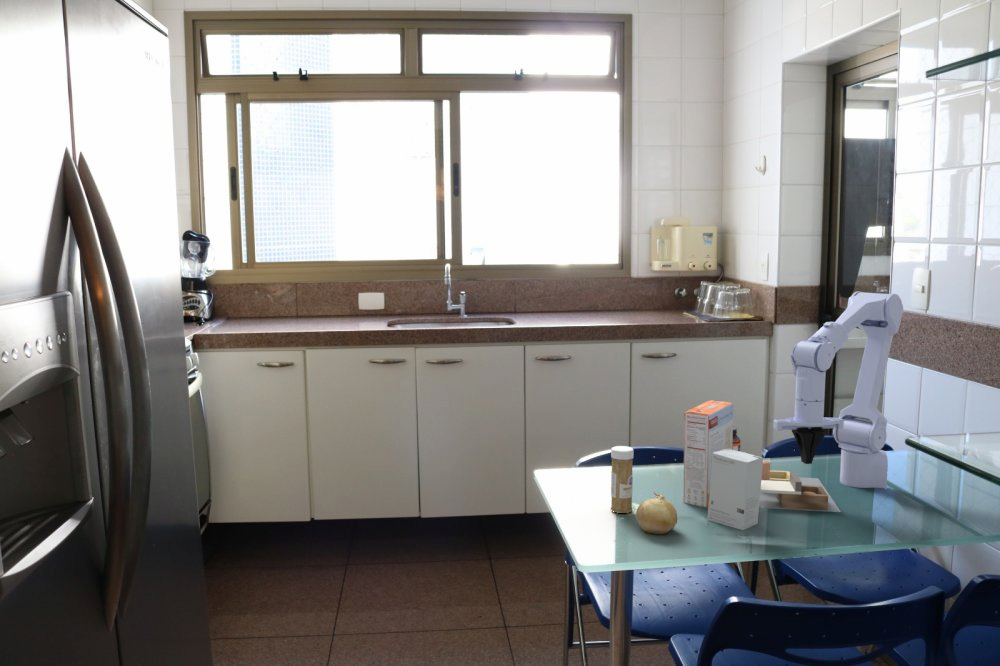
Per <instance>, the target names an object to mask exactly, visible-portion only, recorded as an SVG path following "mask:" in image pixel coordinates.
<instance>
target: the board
mask: <svg viewBox="0 0 1000 666" xmlns="http://www.w3.org/2000/svg"><path fill="white" fill-rule="evenodd" d="M798 477H799V476H798ZM799 479H800V480H801V482H802V485H816V486H822V488H823V489H824V491H825V492H826V494H827V495H828V510H808V509H789V508H781V506H780V504H779V502H778V500H777V498H776V494H777V493H761V492H760V502H759V509H768V510H769V509H772V510H773V509H774V510H775V509H776V510H787V511H789V510H790V511H791V510H793V511H809V512H810V511H812V512H829V513H841V512H842V511H841V510H840V509H839V507H838V506H837V503H836V502H835V501H834V499H833V498H832V497H831V495H830V494H829V492H828V491H827V489H826V488H825V486H824V485H823V483H822V482H821V480H820V479H819V478H817V477H801V476H800V477H799ZM770 481H790V471H789V470H771V469H770Z"/></svg>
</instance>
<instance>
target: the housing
mask: <svg viewBox="0 0 1000 666" xmlns="http://www.w3.org/2000/svg"><path fill="white" fill-rule="evenodd" d="M776 498H777V500H778V502H779V504H780V506H781V508H789V509H808V510H828V495H827V494H826V492H825V491H824V489H823V488H822V486H816V485H802V487H801V495H800V494H779V493H777V494H776ZM808 510H807V511H808Z"/></svg>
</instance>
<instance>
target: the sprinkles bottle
mask: <svg viewBox="0 0 1000 666" xmlns="http://www.w3.org/2000/svg"><path fill="white" fill-rule="evenodd" d="M610 453H611V454H610V457H611V476H610V477H611V478H610V479H611V481H610V482H611V484H610V492H611V493H610V496H611V500H610V501H611V504H610V505H611V507H610V511H611V510H612V511H614V512H617V513H616V514H618V513H627V514H630V513H629V512H631V511H632V512H633V487H634V486H633V479H634V478H633V460H634V449H633V447H630V446H626V445H616V446H613V447H611V452H610ZM612 511H611V512H612ZM614 512H613V513H614ZM632 512H631V513H632Z"/></svg>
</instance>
